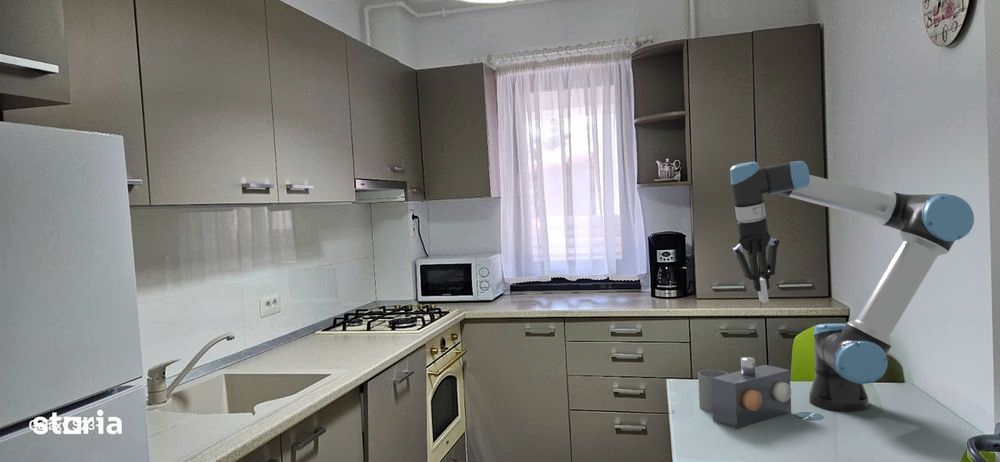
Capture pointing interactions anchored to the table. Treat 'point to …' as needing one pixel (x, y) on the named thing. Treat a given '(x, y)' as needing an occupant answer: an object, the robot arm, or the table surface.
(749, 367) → the dial
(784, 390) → the knob
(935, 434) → the table surface
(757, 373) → the grey puzzle box
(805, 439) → the table surface
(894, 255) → the robot arm
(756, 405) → the knob
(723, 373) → the cup
